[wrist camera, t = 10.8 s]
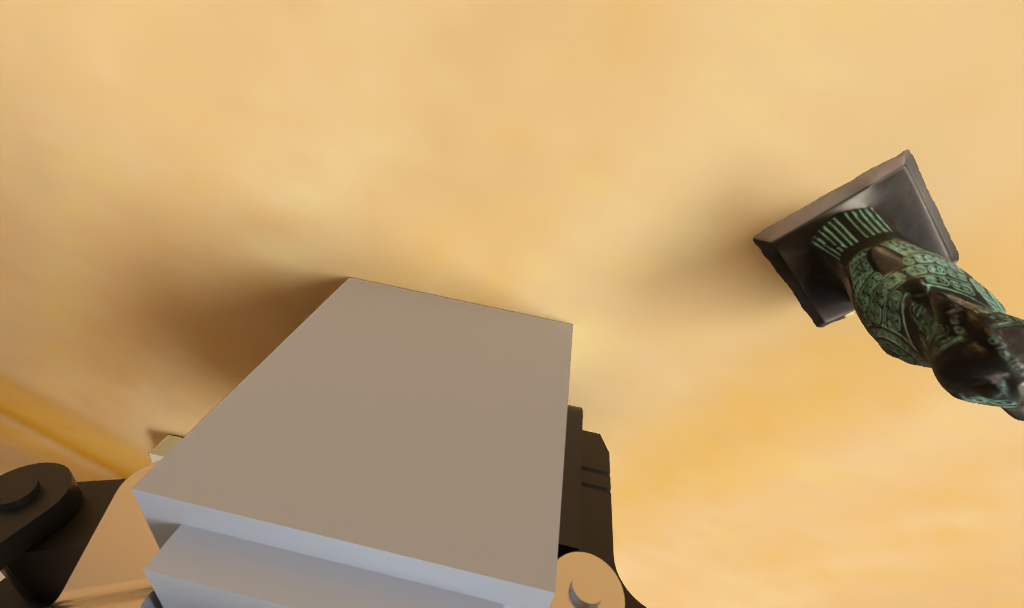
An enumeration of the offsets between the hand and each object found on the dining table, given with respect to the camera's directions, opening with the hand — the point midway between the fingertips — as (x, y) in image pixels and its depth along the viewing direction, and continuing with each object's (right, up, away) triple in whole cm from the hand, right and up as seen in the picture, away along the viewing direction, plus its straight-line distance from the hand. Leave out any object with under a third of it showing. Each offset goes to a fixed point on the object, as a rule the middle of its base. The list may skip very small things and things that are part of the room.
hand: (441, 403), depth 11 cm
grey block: (0, 0, +1) cm, 1 cm away
